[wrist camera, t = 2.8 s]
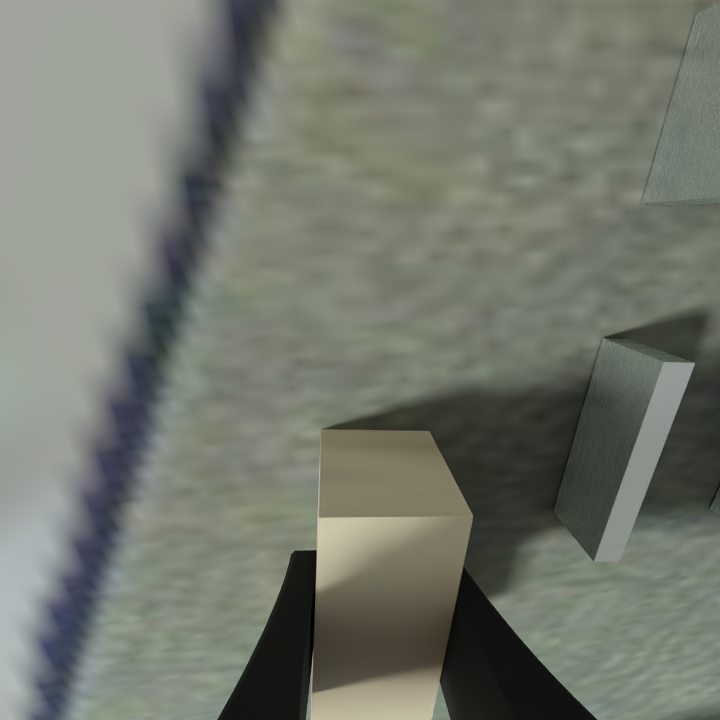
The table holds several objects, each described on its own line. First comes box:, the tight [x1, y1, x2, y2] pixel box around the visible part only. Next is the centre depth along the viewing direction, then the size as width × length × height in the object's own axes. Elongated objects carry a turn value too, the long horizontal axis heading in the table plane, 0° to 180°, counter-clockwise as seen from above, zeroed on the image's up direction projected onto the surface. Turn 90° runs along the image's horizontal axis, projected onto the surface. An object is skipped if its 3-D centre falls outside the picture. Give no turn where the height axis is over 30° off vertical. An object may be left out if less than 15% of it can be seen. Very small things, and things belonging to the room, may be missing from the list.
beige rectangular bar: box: [311, 429, 473, 720], centre depth 10 cm, size 8×3×4 cm, turn 176°
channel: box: [553, 338, 720, 562], centre depth 11 cm, size 6×7×2 cm
